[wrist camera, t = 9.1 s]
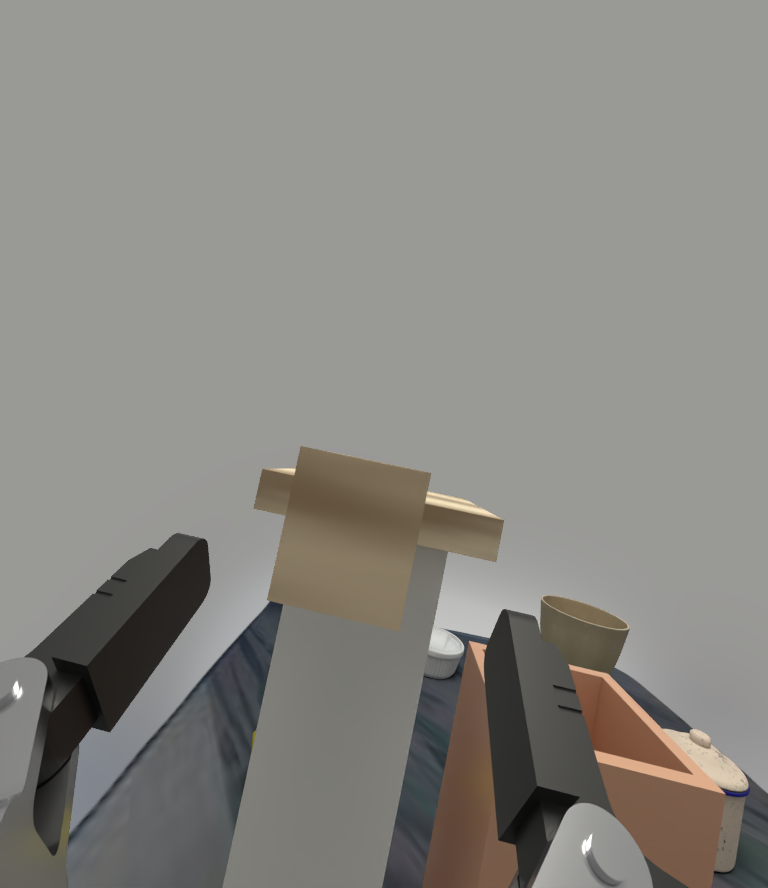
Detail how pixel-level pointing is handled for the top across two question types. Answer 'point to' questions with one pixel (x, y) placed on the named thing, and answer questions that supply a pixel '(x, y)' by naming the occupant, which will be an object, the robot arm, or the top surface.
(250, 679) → the top surface
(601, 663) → the plant pot
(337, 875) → the pedestal
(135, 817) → the top surface
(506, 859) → the tall open box
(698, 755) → the teacup with lid
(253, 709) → the top surface
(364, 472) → the tan t-shaped block
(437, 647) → the ramekin
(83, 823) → the top surface
